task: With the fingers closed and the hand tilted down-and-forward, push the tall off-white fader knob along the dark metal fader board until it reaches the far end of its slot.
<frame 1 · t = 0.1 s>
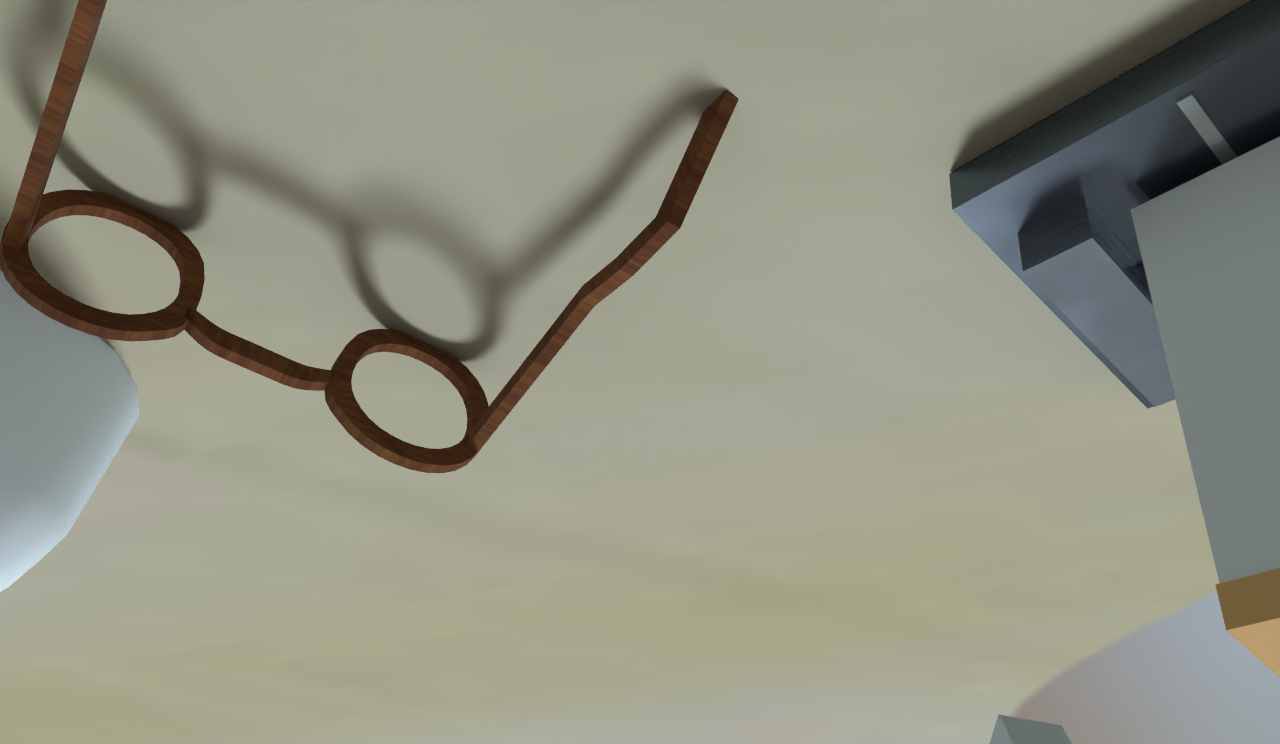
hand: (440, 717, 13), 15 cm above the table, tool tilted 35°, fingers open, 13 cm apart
glasses: (377, 126, 27), on the table
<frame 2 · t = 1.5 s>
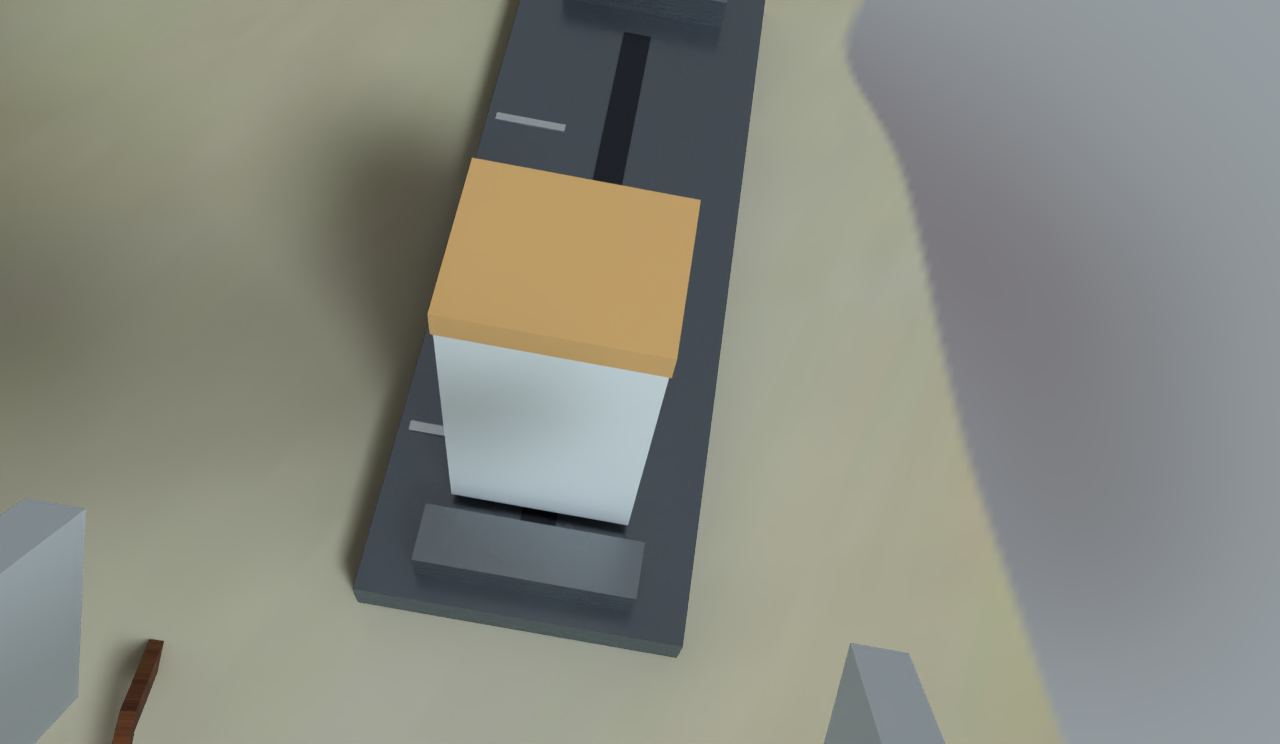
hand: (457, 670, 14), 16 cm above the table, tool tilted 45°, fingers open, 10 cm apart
fader board: (594, 252, 37), on the table
fader knob: (560, 364, 27), point 6 cm above the table, slide at 0.0 cm
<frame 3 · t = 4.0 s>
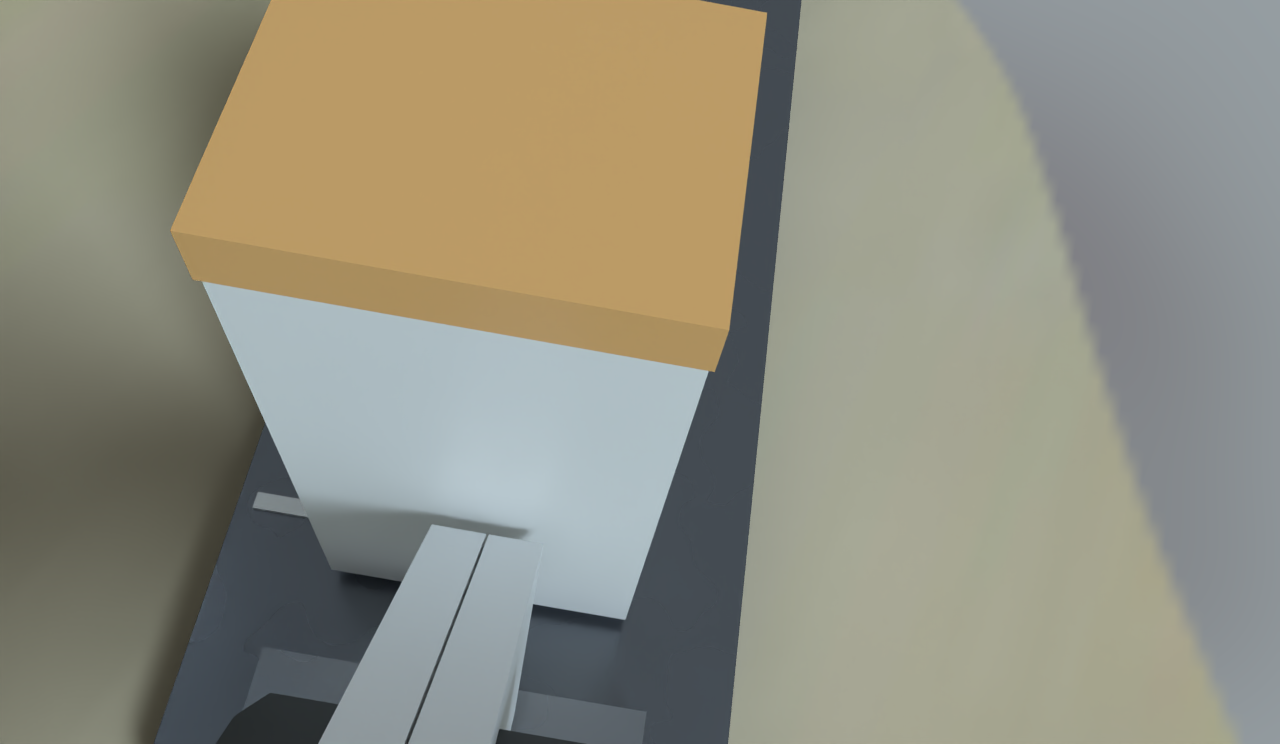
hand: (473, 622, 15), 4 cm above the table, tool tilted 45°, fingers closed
fader board: (567, 221, 24), on the table
fader knob: (501, 351, 15), point 6 cm above the table, slide at 0.9 cm, touching gripper
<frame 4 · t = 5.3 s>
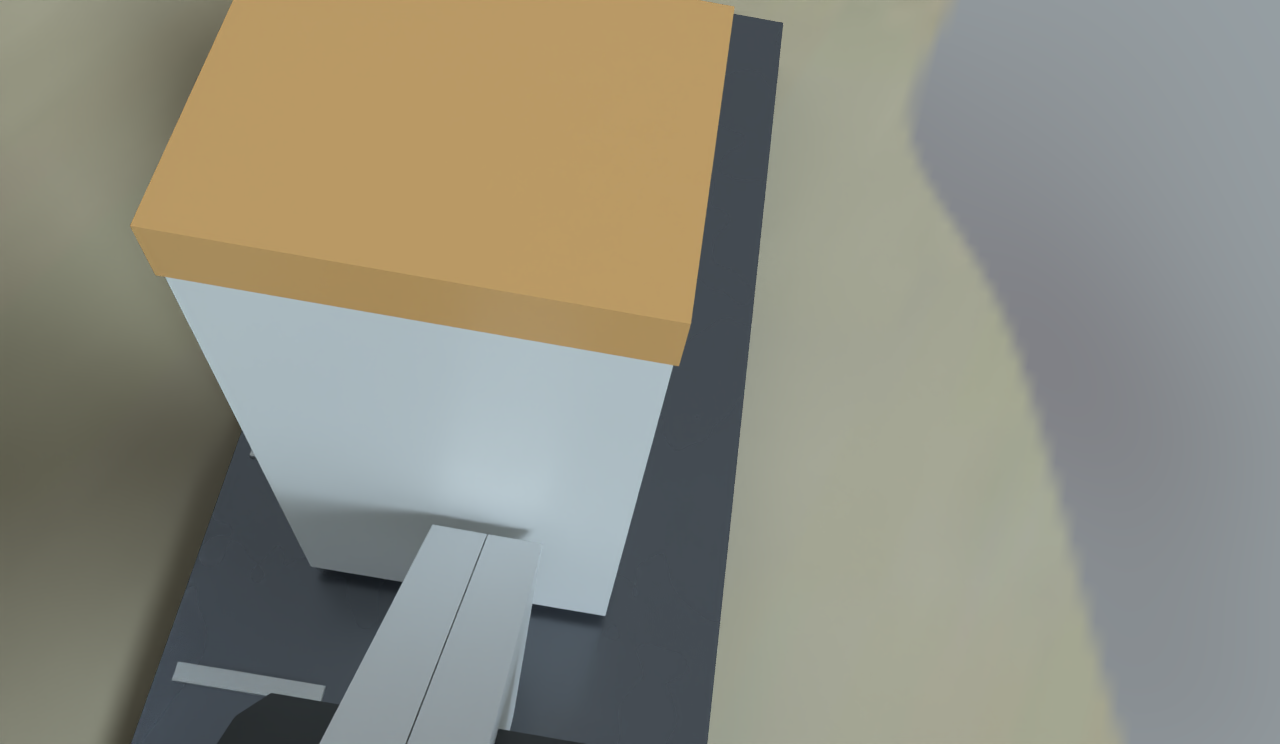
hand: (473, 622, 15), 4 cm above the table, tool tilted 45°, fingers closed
fader board: (485, 512, 21), on the table
fader knob: (475, 347, 15), point 6 cm above the table, slide at 8.0 cm, touching gripper
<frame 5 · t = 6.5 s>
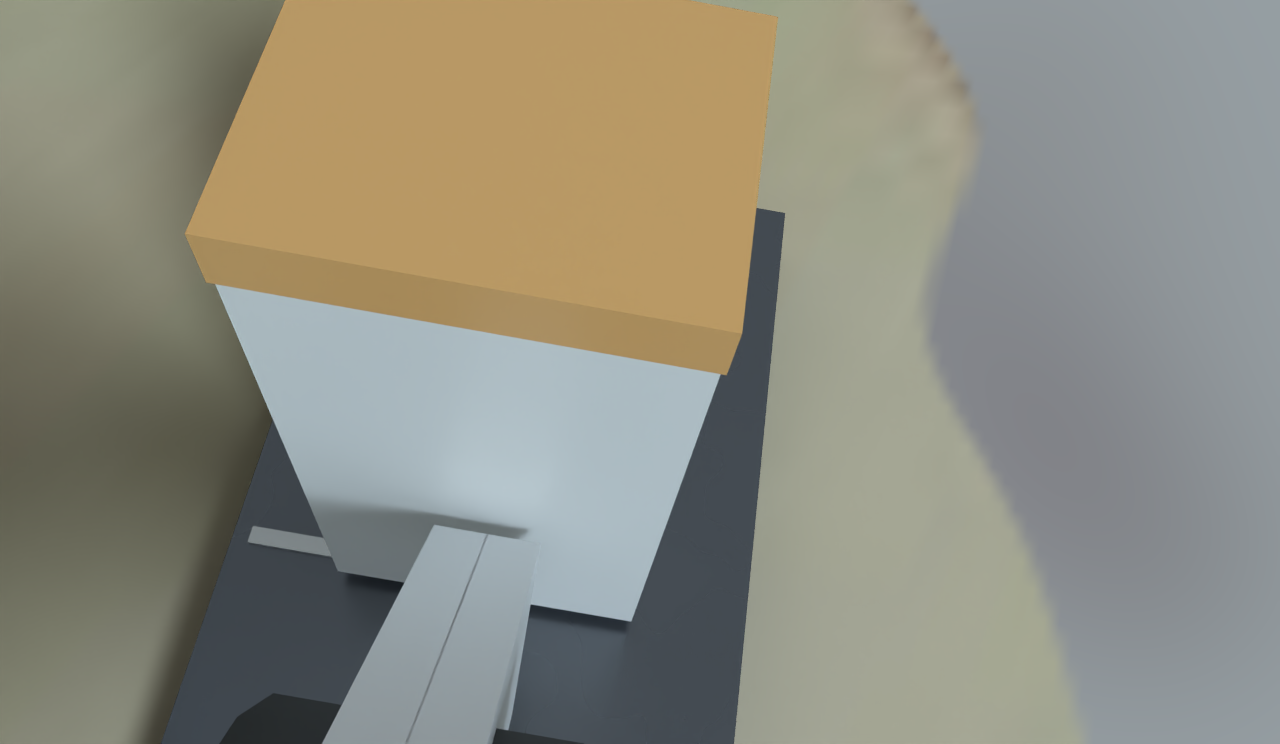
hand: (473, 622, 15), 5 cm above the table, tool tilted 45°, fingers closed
fader knob: (509, 353, 15), point 6 cm above the table, slide at 13.5 cm, touching gripper
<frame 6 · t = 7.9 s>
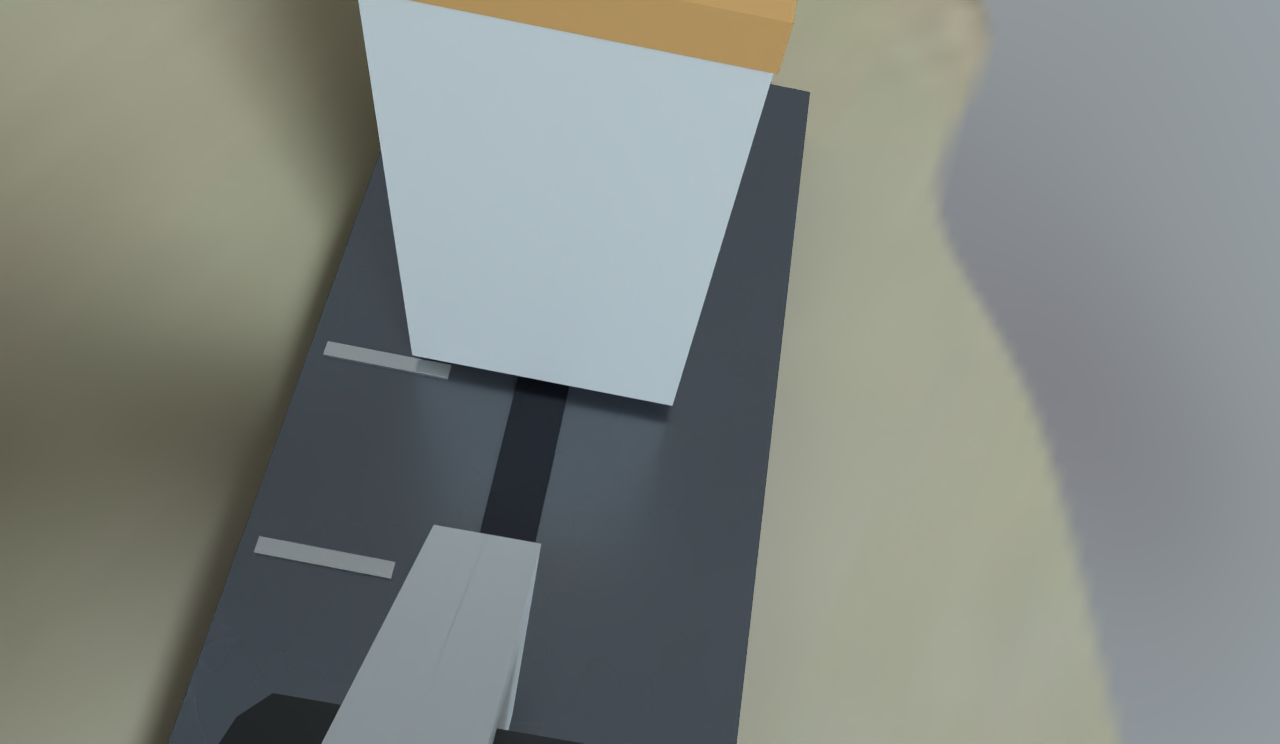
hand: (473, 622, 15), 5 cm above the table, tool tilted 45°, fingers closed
fader board: (495, 610, 20), on the table
fader knob: (577, 129, 17), point 6 cm above the table, slide at 14.0 cm
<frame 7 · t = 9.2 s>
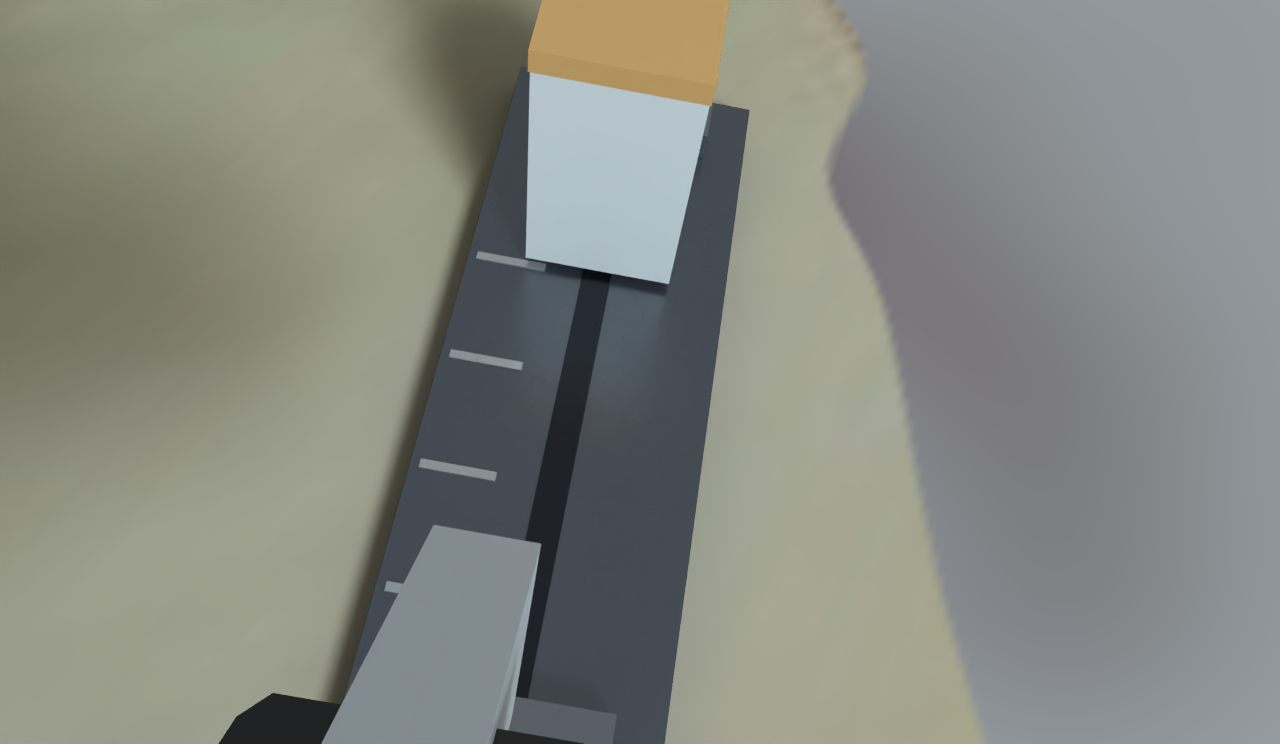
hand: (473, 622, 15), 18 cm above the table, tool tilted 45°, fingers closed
fader board: (574, 393, 37), on the table
fader knob: (618, 132, 34), point 6 cm above the table, slide at 14.0 cm
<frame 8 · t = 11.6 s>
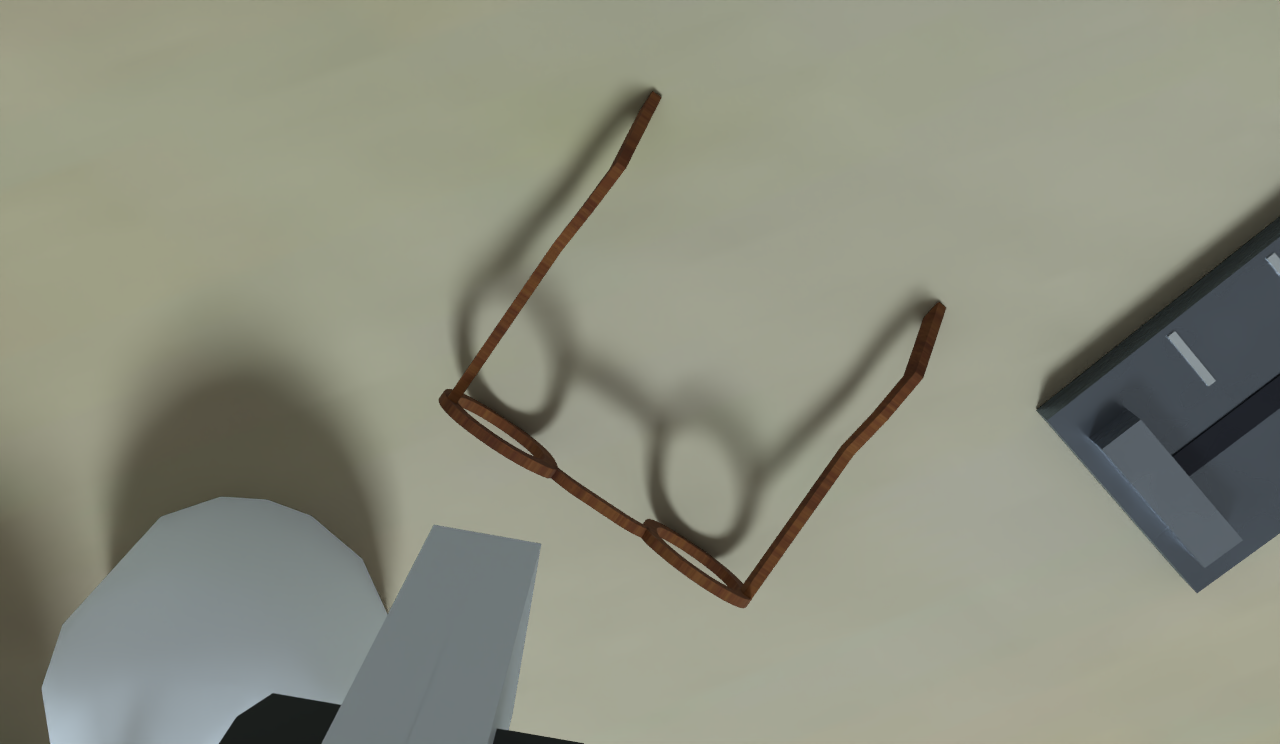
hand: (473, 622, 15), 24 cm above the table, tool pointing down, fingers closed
teardrop: (252, 623, 43), on the table
glasses: (694, 346, 40), on the table
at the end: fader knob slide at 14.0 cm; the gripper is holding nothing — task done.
